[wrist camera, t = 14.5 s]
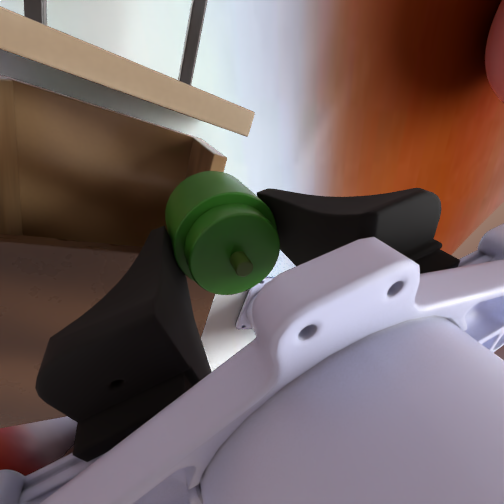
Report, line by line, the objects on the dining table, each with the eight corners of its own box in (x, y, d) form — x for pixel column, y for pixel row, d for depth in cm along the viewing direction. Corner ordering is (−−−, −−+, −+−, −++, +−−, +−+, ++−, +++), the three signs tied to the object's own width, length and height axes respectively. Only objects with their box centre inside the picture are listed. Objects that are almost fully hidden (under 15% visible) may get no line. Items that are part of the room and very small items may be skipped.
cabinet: (-13, 170, 16) (-118, 231, 9) (198, 208, 22) (226, 260, 16) (5, 328, 21) (-52, 438, 15) (169, 322, 28) (182, 395, 21)
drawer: (-43, -170, 10) (-248, -474, 4) (242, 8, 16) (298, -32, 10) (0, 237, 17) (-58, 304, 12) (183, 253, 23) (198, 303, 18)
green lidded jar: (258, 234, 15) (303, 287, 11) (184, 264, 14) (204, 332, 10) (241, 158, 12) (294, 192, 8) (148, 188, 11) (158, 242, 7)
